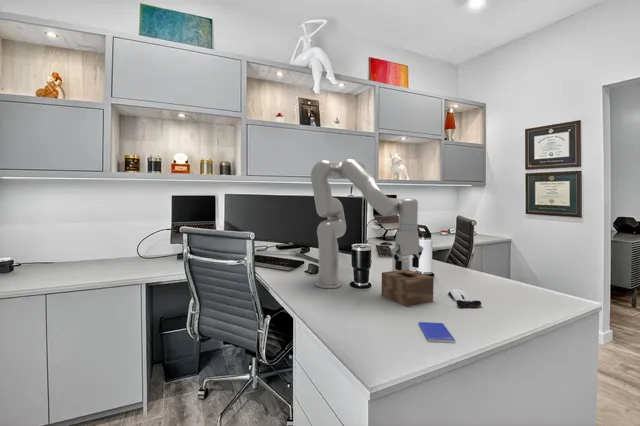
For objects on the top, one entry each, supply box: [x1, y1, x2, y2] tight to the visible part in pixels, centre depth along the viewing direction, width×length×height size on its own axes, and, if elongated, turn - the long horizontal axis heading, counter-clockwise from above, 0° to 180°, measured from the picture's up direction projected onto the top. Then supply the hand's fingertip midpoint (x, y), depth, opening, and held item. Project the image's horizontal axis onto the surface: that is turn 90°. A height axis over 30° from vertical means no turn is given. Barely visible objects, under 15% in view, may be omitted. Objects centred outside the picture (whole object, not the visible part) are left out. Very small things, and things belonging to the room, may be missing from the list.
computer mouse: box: [446, 288, 482, 309], centre depth 132 cm, size 10×18×4 cm, turn 1°
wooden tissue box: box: [380, 269, 435, 307], centre depth 134 cm, size 16×14×10 cm
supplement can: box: [391, 255, 411, 271], centre depth 158 cm, size 8×8×15 cm
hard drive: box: [417, 321, 456, 344], centre depth 101 cm, size 2×8×12 cm
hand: (407, 268), depth 134 cm, fingers open, 9 cm apart
